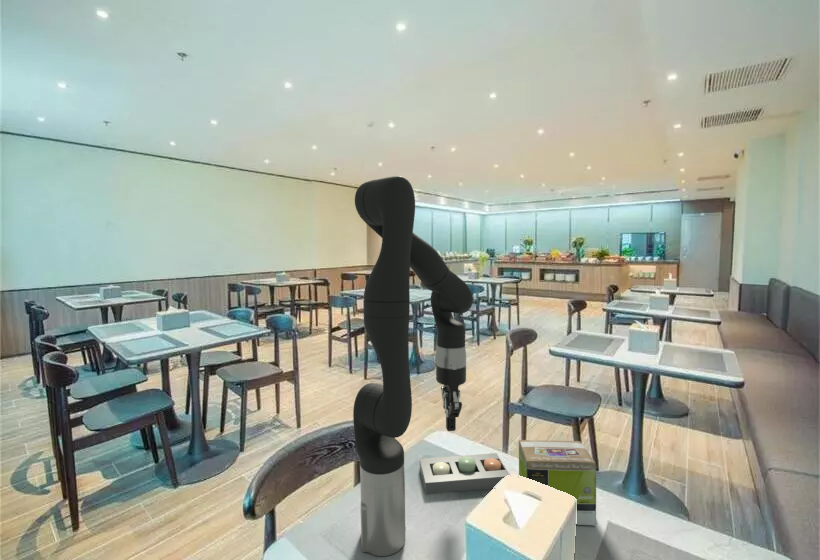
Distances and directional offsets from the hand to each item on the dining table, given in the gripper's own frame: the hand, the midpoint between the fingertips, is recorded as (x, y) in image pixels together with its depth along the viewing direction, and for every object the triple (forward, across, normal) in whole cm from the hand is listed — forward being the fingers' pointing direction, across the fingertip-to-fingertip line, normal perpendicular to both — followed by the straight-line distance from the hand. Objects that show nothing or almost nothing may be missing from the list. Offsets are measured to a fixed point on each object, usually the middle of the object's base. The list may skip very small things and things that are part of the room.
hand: (450, 429), depth 97 cm
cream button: (+13, -3, -2) cm, 14 cm away
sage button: (+12, -3, +5) cm, 13 cm away
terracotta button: (+13, -3, +12) cm, 18 cm away
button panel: (+15, -3, +4) cm, 16 cm away
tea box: (+15, +12, +22) cm, 29 cm away
